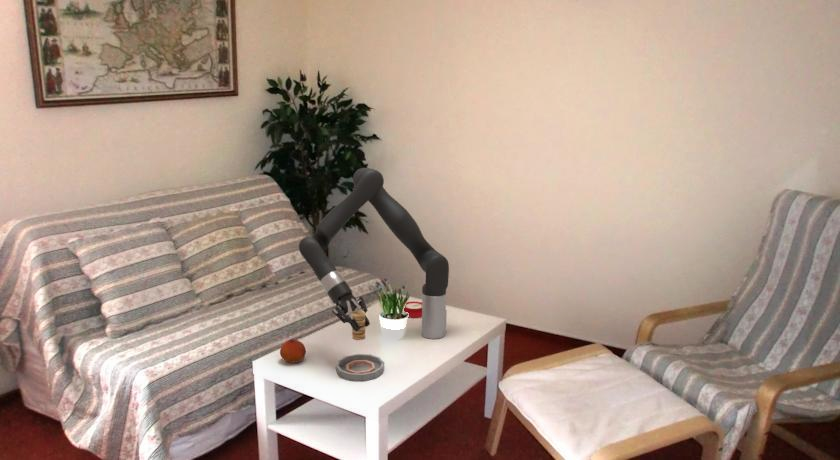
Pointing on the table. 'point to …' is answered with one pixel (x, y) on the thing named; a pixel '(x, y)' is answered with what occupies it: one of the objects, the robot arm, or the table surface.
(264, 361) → the table surface
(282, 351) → the fruit
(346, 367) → the round tray
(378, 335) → the table surface
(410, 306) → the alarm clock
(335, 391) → the table surface
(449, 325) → the table surface
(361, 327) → the bead stack
